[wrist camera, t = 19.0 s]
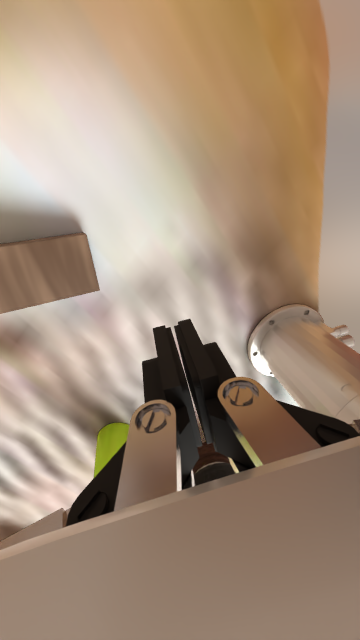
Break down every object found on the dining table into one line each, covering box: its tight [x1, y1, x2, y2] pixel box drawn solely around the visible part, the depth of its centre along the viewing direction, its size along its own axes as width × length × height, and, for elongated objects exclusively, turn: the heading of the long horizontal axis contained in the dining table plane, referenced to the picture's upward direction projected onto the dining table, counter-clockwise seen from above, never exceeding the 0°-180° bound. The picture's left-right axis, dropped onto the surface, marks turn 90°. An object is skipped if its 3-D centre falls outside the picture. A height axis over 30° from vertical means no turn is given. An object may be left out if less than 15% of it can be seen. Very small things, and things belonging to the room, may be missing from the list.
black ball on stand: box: [192, 442, 236, 486], centre depth 43 cm, size 13×13×15 cm
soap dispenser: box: [94, 423, 129, 478], centre depth 32 cm, size 6×7×20 cm
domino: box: [0, 232, 100, 314], centre depth 26 cm, size 2×6×10 cm
